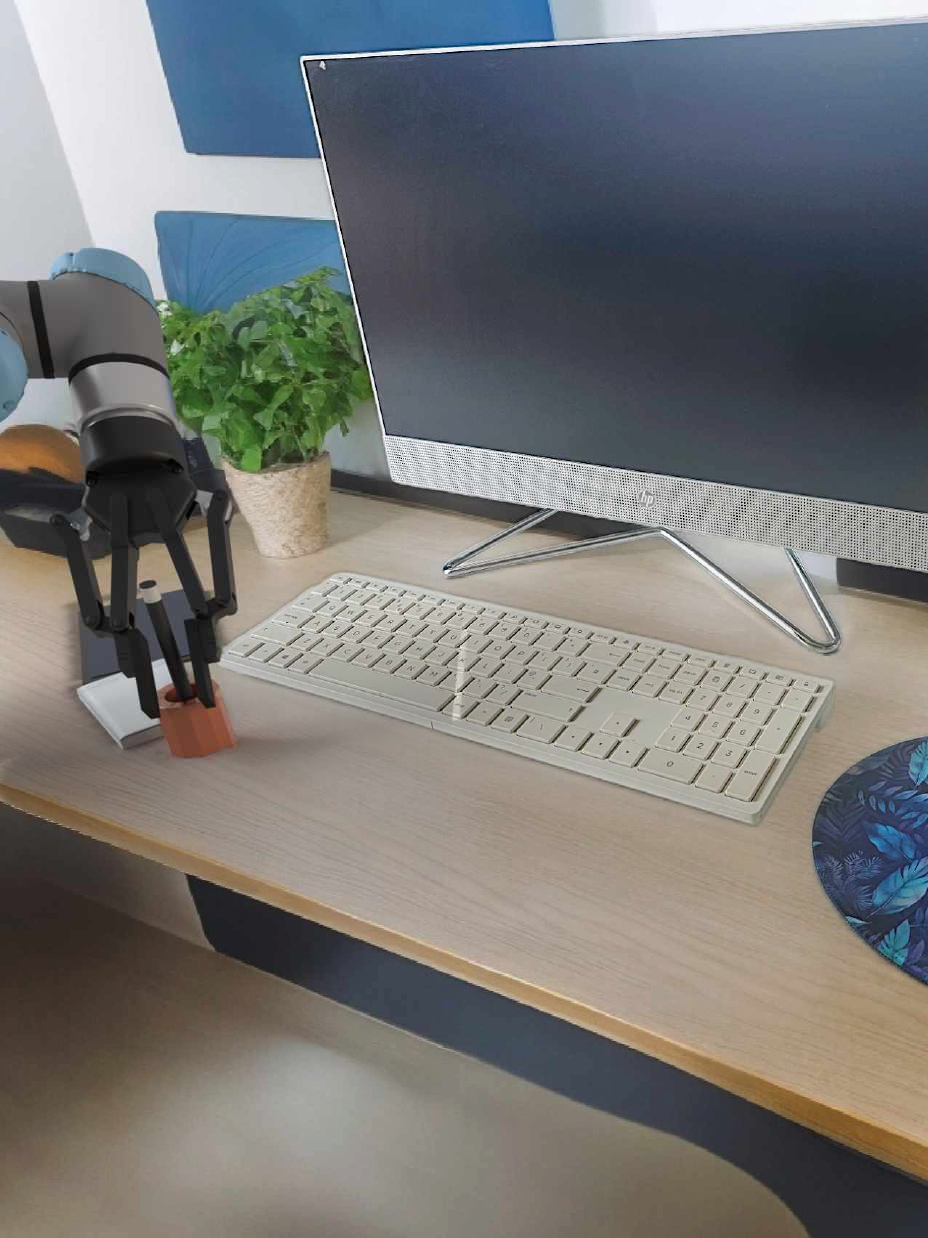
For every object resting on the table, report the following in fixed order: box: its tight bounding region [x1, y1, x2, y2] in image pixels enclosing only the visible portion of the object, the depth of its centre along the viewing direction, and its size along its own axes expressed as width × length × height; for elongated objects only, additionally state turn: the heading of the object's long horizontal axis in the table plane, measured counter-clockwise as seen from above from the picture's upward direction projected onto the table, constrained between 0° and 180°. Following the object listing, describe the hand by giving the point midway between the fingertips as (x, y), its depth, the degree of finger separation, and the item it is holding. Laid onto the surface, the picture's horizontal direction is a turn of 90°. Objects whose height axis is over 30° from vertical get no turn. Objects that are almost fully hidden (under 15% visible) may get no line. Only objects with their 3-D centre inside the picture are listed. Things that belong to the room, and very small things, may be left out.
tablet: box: [77, 588, 195, 686], centre depth 118 cm, size 18×12×1 cm, turn 27°
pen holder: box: [157, 677, 238, 759], centre depth 96 cm, size 5×5×6 cm
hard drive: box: [76, 659, 191, 751], centre depth 105 cm, size 2×8×12 cm
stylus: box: [138, 579, 195, 702], centre depth 94 cm, size 1×1×15 cm
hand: (179, 707), depth 91 cm, fingers open, 3 cm apart
